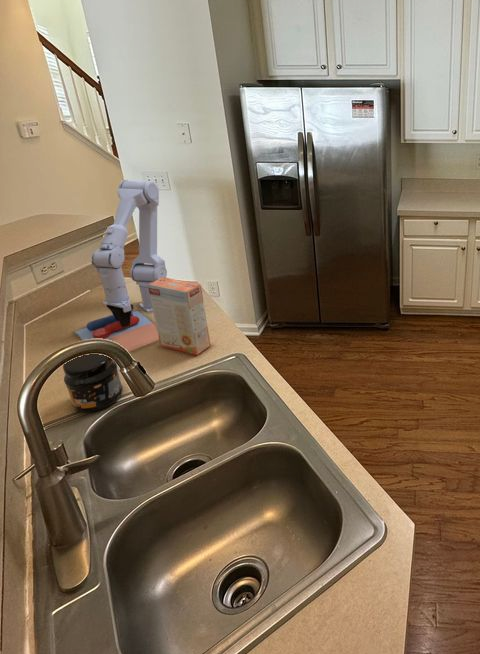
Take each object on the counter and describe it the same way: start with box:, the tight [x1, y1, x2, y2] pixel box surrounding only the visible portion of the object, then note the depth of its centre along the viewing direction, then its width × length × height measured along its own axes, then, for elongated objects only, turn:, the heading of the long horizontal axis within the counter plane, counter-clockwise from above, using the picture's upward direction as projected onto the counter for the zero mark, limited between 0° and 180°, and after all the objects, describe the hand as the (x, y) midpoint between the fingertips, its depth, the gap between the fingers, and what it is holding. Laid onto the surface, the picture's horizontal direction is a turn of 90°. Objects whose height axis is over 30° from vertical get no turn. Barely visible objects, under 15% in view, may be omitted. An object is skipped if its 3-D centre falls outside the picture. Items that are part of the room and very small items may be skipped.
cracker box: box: [148, 277, 211, 356], centre depth 126 cm, size 14×6×21 cm, turn 71°
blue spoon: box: [85, 311, 133, 330], centre depth 139 cm, size 13×5×3 cm, turn 141°
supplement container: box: [62, 354, 124, 413], centre depth 105 cm, size 10×10×12 cm
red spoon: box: [92, 316, 139, 339], centre depth 135 cm, size 13×5×3 cm, turn 141°
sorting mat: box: [74, 310, 159, 353], centre depth 134 cm, size 18×24×1 cm
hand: (124, 324), depth 137 cm, fingers closed on red spoon, 3 cm apart
